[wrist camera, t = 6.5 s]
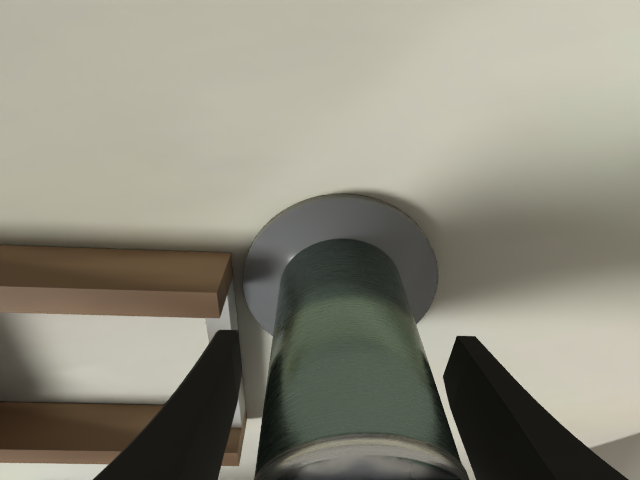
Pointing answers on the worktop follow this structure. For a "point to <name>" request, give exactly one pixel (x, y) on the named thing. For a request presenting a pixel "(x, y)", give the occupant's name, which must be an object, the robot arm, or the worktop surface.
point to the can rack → (107, 299)
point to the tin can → (350, 376)
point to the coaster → (334, 223)
